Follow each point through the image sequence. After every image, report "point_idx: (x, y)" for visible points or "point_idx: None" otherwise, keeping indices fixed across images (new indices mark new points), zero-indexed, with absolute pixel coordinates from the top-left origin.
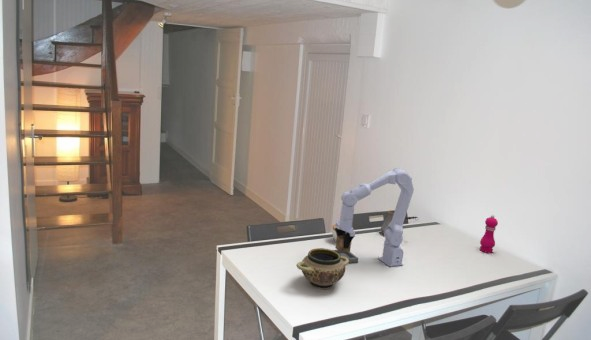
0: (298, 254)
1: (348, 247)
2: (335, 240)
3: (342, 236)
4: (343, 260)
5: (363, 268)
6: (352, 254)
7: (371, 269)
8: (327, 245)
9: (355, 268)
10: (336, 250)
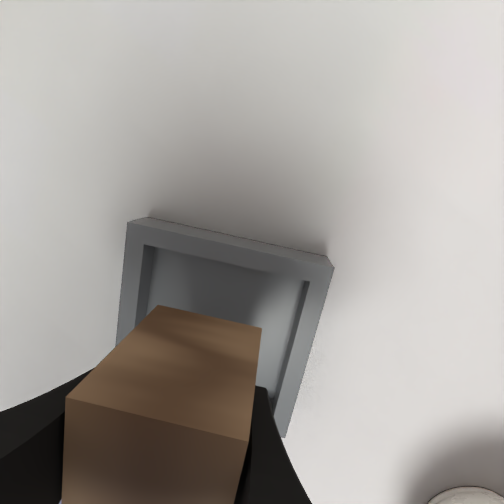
0: (464, 22)
1: None
2: (495, 495)
3: (195, 499)
4: (126, 276)
5: (49, 344)
6: None
7: (26, 376)
8: (470, 393)
9: (61, 298)
10: (295, 350)
